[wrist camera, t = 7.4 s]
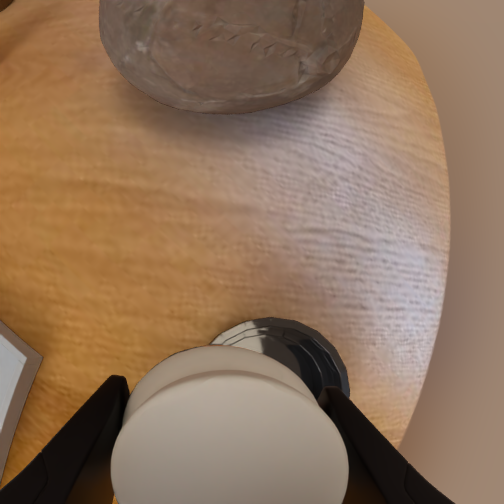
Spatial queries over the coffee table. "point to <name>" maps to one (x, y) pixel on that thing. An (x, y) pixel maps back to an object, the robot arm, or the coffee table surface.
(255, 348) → the charcoal bowl
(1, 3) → the flowerpot
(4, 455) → the serving dish
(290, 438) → the pill bottle
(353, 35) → the clay pot
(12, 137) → the coffee table surface
